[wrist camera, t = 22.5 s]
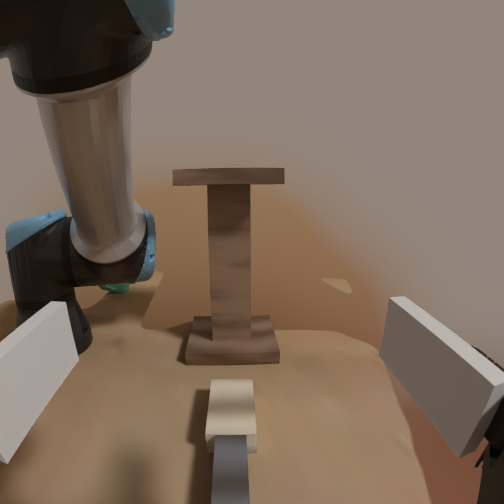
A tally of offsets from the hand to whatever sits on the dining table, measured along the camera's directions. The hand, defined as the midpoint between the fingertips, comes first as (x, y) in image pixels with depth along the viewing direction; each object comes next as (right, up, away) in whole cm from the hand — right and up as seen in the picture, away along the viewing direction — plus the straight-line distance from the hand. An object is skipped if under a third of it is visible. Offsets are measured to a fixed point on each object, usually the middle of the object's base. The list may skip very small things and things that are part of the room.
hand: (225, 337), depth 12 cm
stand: (-2, -12, +40) cm, 42 cm away
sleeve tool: (-1, -18, +15) cm, 23 cm away
